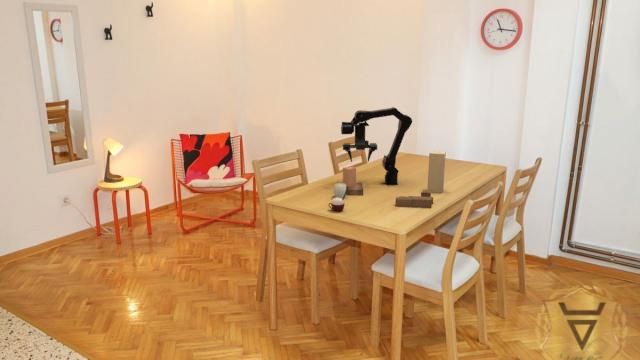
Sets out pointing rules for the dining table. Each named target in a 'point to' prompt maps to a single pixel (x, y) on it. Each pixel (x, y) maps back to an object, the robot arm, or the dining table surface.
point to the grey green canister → (339, 190)
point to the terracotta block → (349, 176)
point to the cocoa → (338, 203)
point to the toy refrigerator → (436, 171)
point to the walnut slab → (355, 190)
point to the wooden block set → (416, 200)
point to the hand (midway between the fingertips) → (359, 161)
